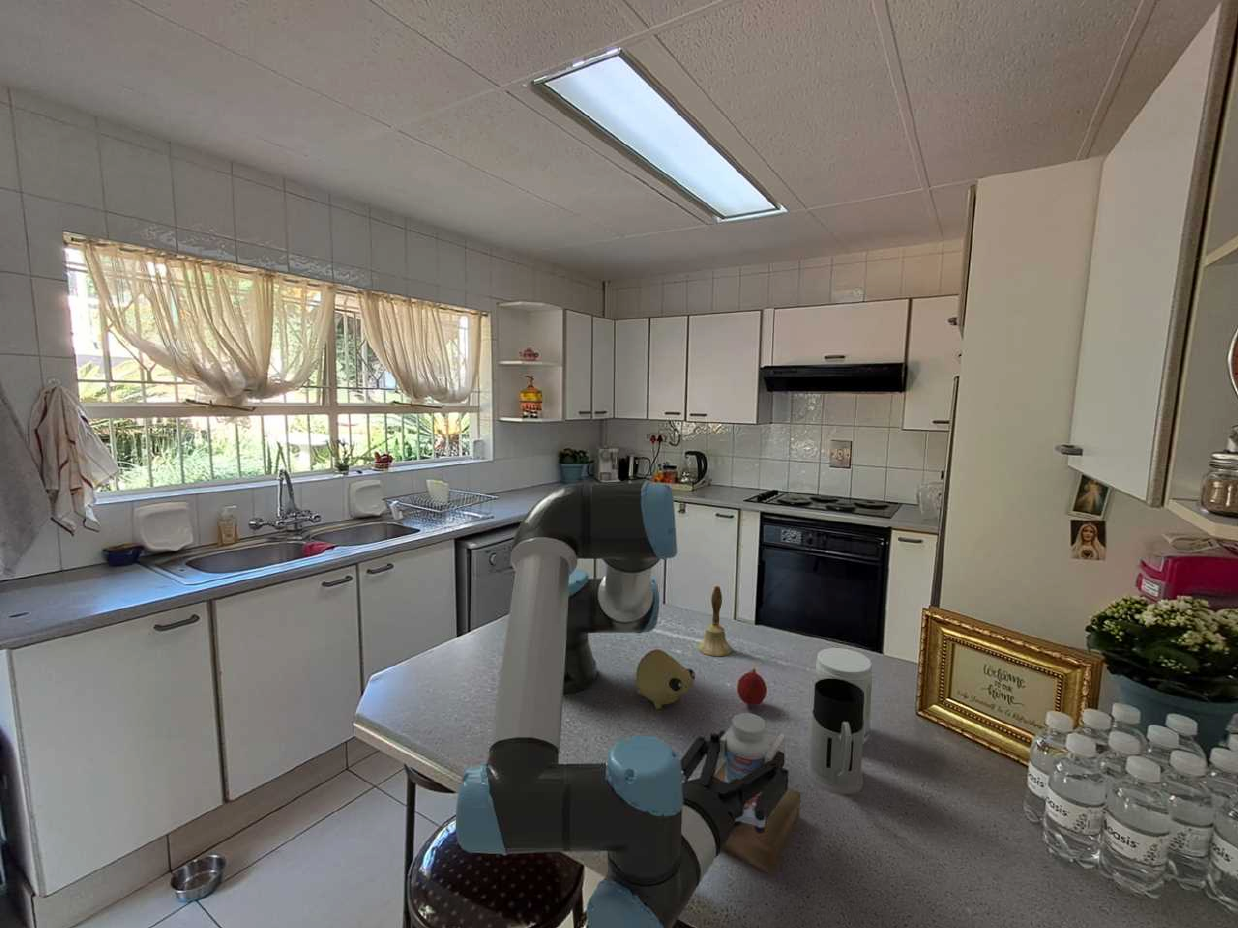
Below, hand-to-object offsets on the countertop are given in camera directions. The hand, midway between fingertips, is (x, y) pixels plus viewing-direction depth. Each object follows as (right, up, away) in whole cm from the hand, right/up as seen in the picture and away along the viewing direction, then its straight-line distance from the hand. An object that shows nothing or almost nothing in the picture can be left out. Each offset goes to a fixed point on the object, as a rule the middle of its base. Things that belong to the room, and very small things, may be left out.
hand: (760, 734), depth 83 cm
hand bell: (+2, -5, +53) cm, 53 cm away
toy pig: (-12, -8, +29) cm, 33 cm away
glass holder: (+14, -11, +5) cm, 18 cm away
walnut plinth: (-3, -12, -3) cm, 12 cm away
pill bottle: (-3, -7, -3) cm, 8 cm away
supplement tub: (+20, -9, +19) cm, 29 cm away
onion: (+5, -8, +28) cm, 30 cm away
